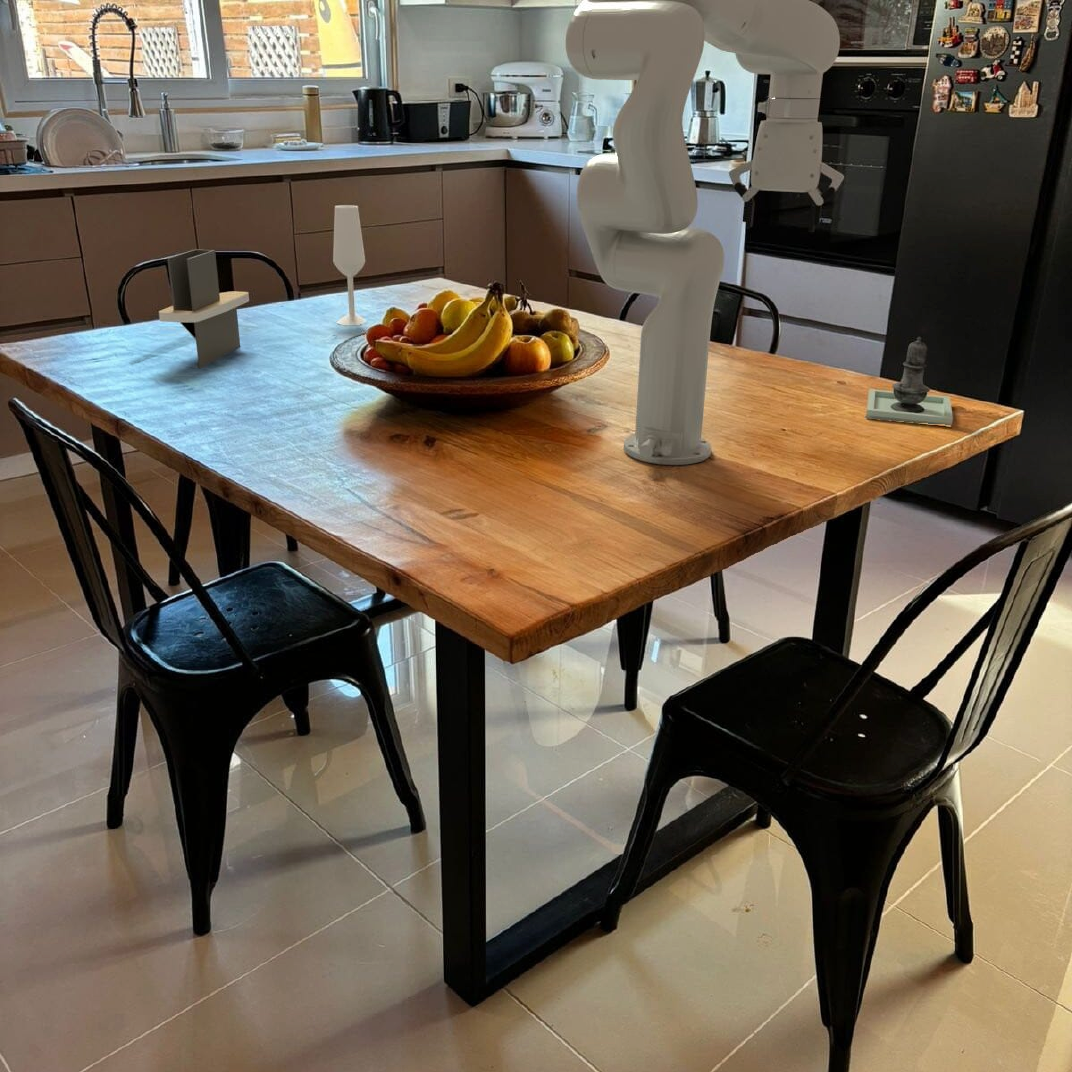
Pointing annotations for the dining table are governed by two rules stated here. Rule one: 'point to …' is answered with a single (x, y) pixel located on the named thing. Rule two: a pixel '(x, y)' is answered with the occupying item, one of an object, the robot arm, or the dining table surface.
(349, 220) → the champagne flute
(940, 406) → the tray
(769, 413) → the dining table surface
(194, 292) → the architectural model
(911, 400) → the salt shaker
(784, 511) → the dining table surface
